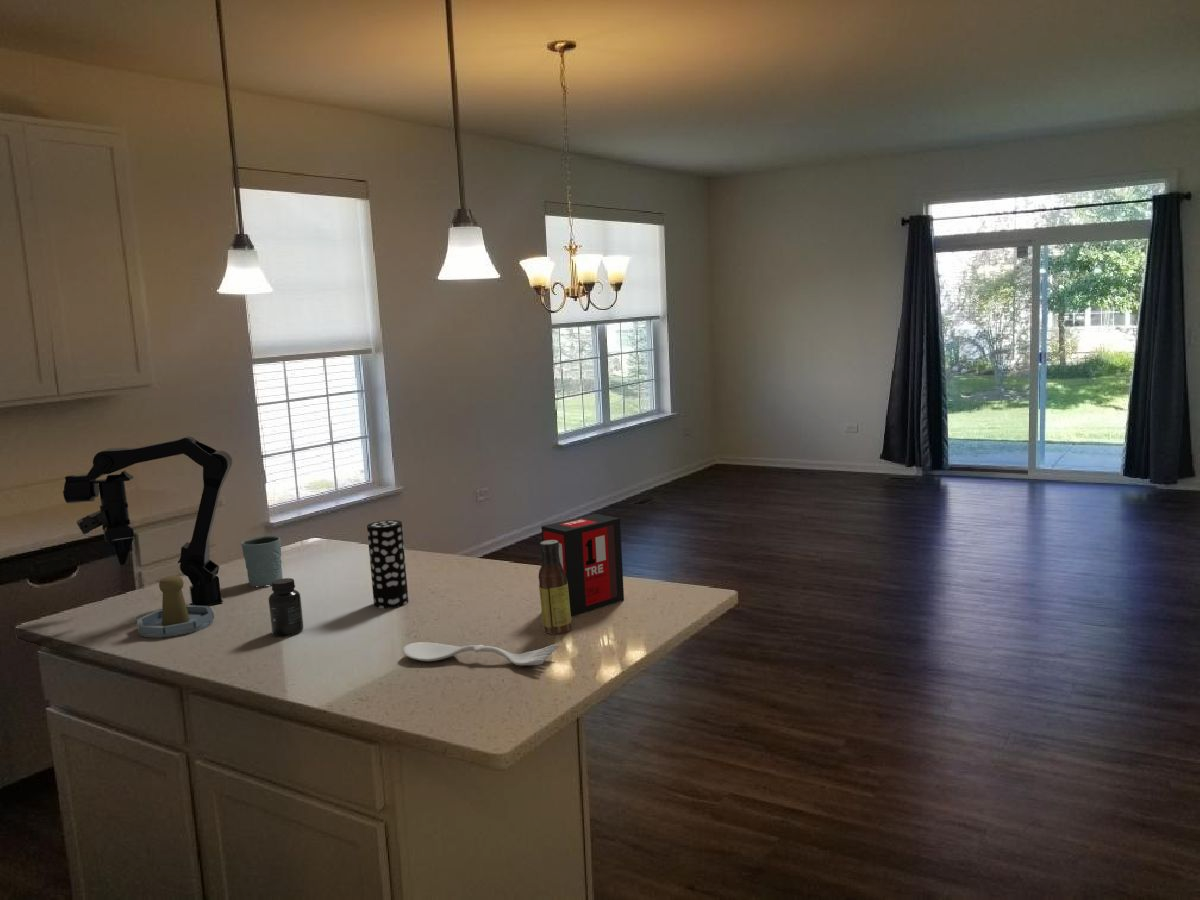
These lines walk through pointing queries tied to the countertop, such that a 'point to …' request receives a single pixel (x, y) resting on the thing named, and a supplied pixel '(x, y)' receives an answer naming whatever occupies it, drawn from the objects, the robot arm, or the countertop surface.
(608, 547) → the cleaning product box
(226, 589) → the countertop surface
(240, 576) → the countertop surface
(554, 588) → the sauce bottle
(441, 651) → the white spork
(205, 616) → the dish
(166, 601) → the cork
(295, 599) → the supplement bottle
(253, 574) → the teal cup
